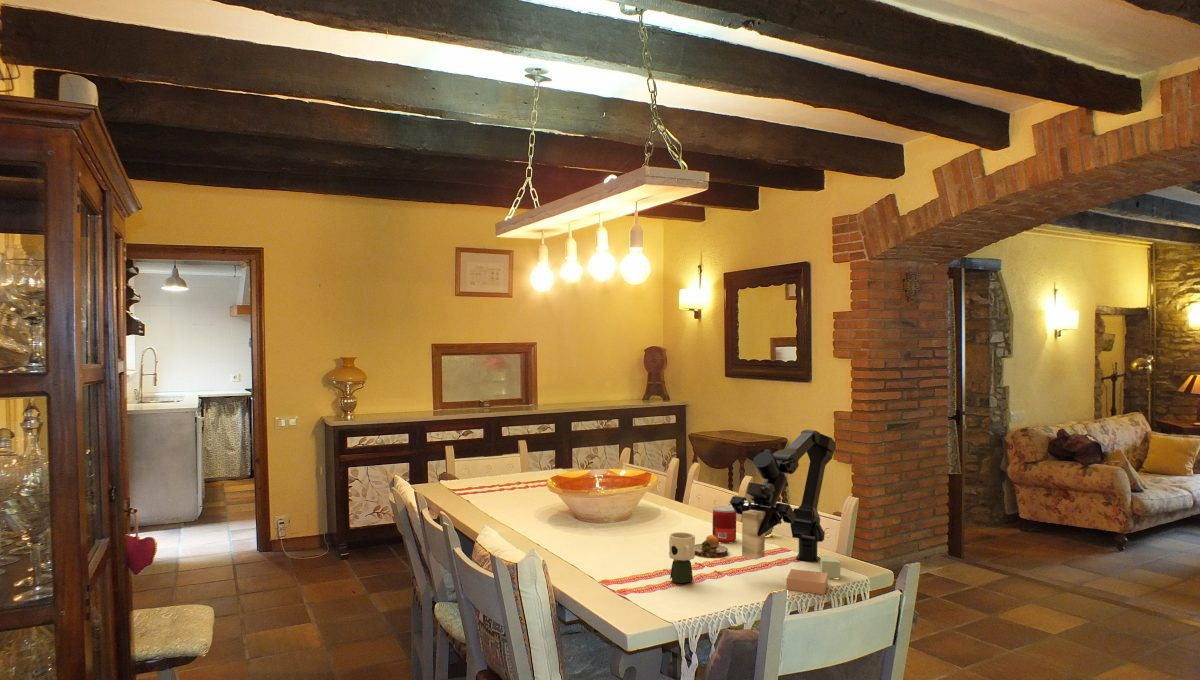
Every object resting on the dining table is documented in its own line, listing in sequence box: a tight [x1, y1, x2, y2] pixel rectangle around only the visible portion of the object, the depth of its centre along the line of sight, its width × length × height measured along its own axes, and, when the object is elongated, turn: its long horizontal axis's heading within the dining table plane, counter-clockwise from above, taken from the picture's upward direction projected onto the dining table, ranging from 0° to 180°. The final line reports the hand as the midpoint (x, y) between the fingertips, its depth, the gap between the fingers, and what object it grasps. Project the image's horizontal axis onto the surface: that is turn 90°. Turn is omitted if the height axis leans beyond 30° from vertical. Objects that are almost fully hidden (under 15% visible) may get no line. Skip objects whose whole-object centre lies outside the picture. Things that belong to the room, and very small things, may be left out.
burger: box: [695, 534, 729, 559], centre depth 243 cm, size 12×12×8 cm
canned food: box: [712, 505, 737, 544], centre depth 260 cm, size 8×8×11 cm
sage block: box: [820, 556, 841, 579], centre depth 219 cm, size 5×5×5 cm
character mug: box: [668, 531, 696, 584], centre depth 212 cm, size 11×7×13 cm, turn 14°
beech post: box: [741, 510, 766, 560], centre depth 214 cm, size 4×4×12 cm
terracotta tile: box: [785, 568, 829, 595], centre depth 209 cm, size 10×10×3 cm
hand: (751, 533), depth 213 cm, fingers closed on beech post, 4 cm apart
